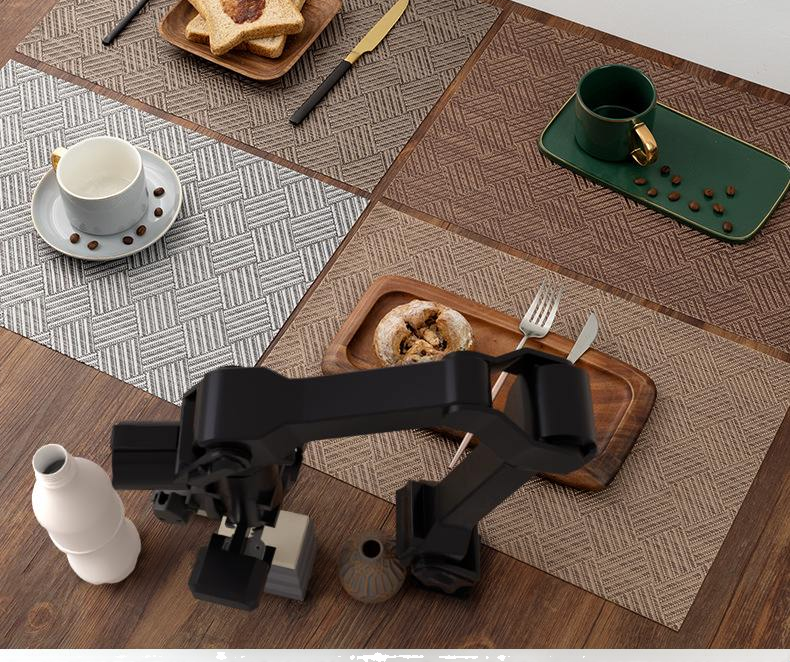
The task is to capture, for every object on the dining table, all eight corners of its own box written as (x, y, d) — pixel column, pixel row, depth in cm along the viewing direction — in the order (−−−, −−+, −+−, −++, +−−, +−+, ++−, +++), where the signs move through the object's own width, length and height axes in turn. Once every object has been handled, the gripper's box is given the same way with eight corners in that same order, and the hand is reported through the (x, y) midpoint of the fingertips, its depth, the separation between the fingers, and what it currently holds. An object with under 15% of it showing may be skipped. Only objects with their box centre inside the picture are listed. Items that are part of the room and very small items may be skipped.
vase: (378, 625, 114) (377, 598, 106) (325, 583, 116) (320, 555, 109) (419, 571, 117) (421, 541, 109) (366, 531, 119) (365, 500, 112)
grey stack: (317, 549, 118) (312, 518, 110) (303, 601, 115) (297, 572, 107) (239, 531, 119) (229, 499, 112) (223, 582, 116) (211, 552, 108)
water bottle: (132, 598, 115) (74, 507, 94) (65, 584, 116) (-7, 490, 95) (154, 531, 119) (104, 429, 98) (89, 518, 120) (26, 414, 99)
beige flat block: (309, 520, 110) (308, 515, 109) (295, 569, 108) (294, 565, 107) (231, 502, 111) (229, 497, 110) (214, 550, 109) (213, 546, 108)
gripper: (190, 354, 102) (213, 428, 115) (114, 552, 92) (149, 609, 105) (309, 379, 101) (319, 451, 114) (246, 583, 91) (264, 637, 103)
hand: (262, 533), depth 109 cm, fingers closed on beige flat block, 5 cm apart
